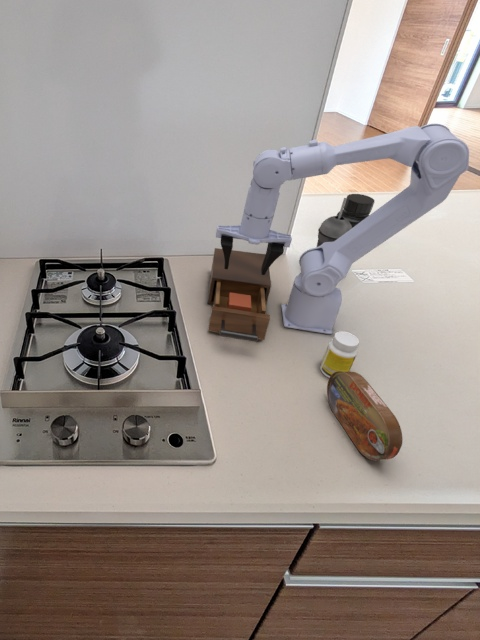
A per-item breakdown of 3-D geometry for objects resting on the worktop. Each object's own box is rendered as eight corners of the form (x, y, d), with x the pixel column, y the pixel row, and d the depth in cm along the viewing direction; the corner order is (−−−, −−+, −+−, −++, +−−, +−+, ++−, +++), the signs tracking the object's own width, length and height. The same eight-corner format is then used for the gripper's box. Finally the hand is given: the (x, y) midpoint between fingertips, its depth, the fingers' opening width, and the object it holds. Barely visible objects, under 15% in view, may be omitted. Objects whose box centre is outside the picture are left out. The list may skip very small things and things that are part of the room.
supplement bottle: (350, 383, 80) (365, 349, 75) (322, 379, 81) (336, 345, 76) (343, 364, 84) (357, 331, 79) (317, 361, 85) (329, 328, 80)
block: (247, 311, 95) (250, 295, 92) (247, 324, 91) (251, 307, 89) (226, 308, 96) (229, 292, 93) (225, 320, 92) (229, 304, 90)
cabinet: (264, 312, 97) (271, 285, 93) (207, 304, 100) (212, 277, 96) (261, 279, 108) (267, 254, 104) (210, 273, 111) (214, 247, 107)
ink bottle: (326, 239, 125) (339, 200, 119) (331, 226, 131) (343, 189, 125) (364, 247, 121) (379, 208, 114) (367, 234, 127) (381, 196, 120)
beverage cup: (305, 277, 109) (328, 203, 98) (306, 262, 115) (327, 191, 104) (338, 283, 107) (365, 208, 96) (336, 268, 112) (362, 196, 101)
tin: (320, 394, 78) (334, 360, 73) (337, 393, 78) (352, 359, 73) (372, 472, 65) (393, 437, 61) (392, 470, 66) (414, 435, 61)
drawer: (265, 355, 85) (271, 333, 82) (206, 345, 88) (210, 323, 84) (261, 304, 99) (266, 283, 95) (211, 296, 101) (214, 276, 98)
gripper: (220, 216, 84) (209, 274, 92) (300, 226, 81) (281, 285, 89) (221, 201, 90) (210, 257, 98) (295, 210, 87) (278, 267, 95)
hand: (244, 269), depth 94 cm, fingers open, 7 cm apart
